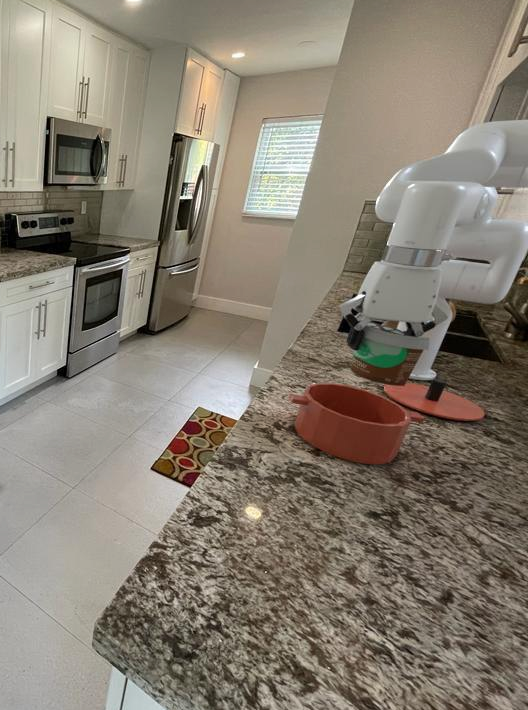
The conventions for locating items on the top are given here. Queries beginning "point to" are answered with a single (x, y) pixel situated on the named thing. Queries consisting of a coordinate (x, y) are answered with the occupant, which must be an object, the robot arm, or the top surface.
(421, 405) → the lid
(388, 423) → the pot
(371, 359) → the food container
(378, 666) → the top surface
